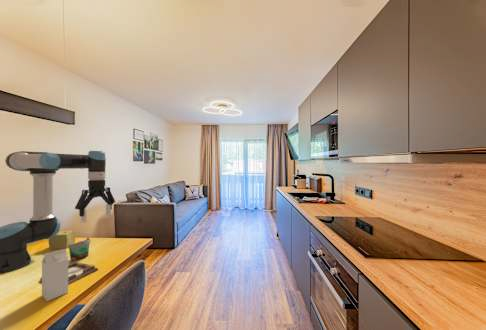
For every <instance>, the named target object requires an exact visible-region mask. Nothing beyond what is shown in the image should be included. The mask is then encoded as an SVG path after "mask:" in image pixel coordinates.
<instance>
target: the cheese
mask: <svg viewBox="0 0 486 330" xmlns="http://www.w3.org/2000/svg"><path fill="white" fill-rule="evenodd" d="M75 243H76V230H75V229H67V230H66V229H65V230H62V231H59V232H58V233H57V234H56V235H55V236H53V237H50V238H48V247H49V248H48V249H49V250H61V249H65V248H66V249H69V248H68V246H69V244H70V245H72V244H75Z"/></svg>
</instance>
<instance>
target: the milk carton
mask: <svg viewBox="0 0 486 330" xmlns="http://www.w3.org/2000/svg"><path fill="white" fill-rule="evenodd" d="M66 250H67V248H65V249H56V250H53V251H50V252H47V253H44V255H43V258H42V261H41V278H42V281H41V296H42V297H43V299H44V300H45V301H46V302H49V301H51V300H54V299H57V298H58V297H61V296H63V295H66V294H68V293H69V285H68V265H69V257H68V253H67V251H66Z"/></svg>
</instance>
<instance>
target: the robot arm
mask: <svg viewBox="0 0 486 330" xmlns="http://www.w3.org/2000/svg"><path fill="white" fill-rule="evenodd" d="M106 159H107V158H106V152H105V151H104V150H89V151H88V153H87V154H71V153H70V154H69V153H68V154H67V153H54V152H48V151H43V152H42V151H27V150H23V151H20V150H19V151H15V152H12V153H9V154H8V155H7V156H6V158H5V160H4V161H5V165H6V166H7V167H8V168H10V169H12V170H15V171H17V172H29V175H30V176H31V177H33V178H32V180H33V183H32V184H33V185H32V187H33V188H32V189H33V190H32V192H33V193H32V195H33V197H32V198H33V199H32V200H33V201H32V204H33V205H32V209H33V210H32V216H31V217H30V218H29V222H27V221H18V222H12V223H8V224H5V225H2V226H0V274H2V273H9V272H12V271H15V270H19V269H21V268H24V267H26V266H28V265H30V264H31V263H32V258H31V255H30V253H29V250H28V244H32V243H35V242H39V241H42V240H43V241H44V240H49V238H50V237H53V236H55V235H56V234H57V233H58V232H60V230H61V222H60V219H59V218H58V217H57V216H56V215H55V214H53V200H54V199H53V194H54V193H53V190H54V189H53V181H54V179H53V177H54V176H55V175H56V173H57V171H60V170H61V169H63V170H64V169H66V170H67V169H68V170H69V169H74V170H75V169H82V170H84V169H87V179H88V181H87V187H88V189H82V190H81V195H80V197H79V198H78V201H77V203H76V205H75V208H74V209H75V210H79V214H78V215H79V217H80V223H84V224H87V209H86V208H87V207H88V205H89V204H90V203H91V201H92V200H93V199H94V198H99V197H101V199H102V200H104V203H106V204H105V217H111V215H112V214H111V212H112V209H113V208H112V206H113V205H114V203H116V201H115V198H114V196H113V194H112V192H111V188H110V186H109V187H106V163H107V162H106Z"/></svg>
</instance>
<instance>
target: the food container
mask: <svg viewBox="0 0 486 330" xmlns="http://www.w3.org/2000/svg"><path fill="white" fill-rule="evenodd" d="M91 243H92V242H91V239H90V238H89V237H87V238H86V239H85V240H80V241H78V242H75V243H74V244H72V245H70V244H69V246H68V248H67V249H69V257H70V261H71V262H72V261H73V262H76V261H81V260H83V259H85V258H88V256H89V252H90V251H89V250H90V244H91ZM75 260H76V261H75Z"/></svg>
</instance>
